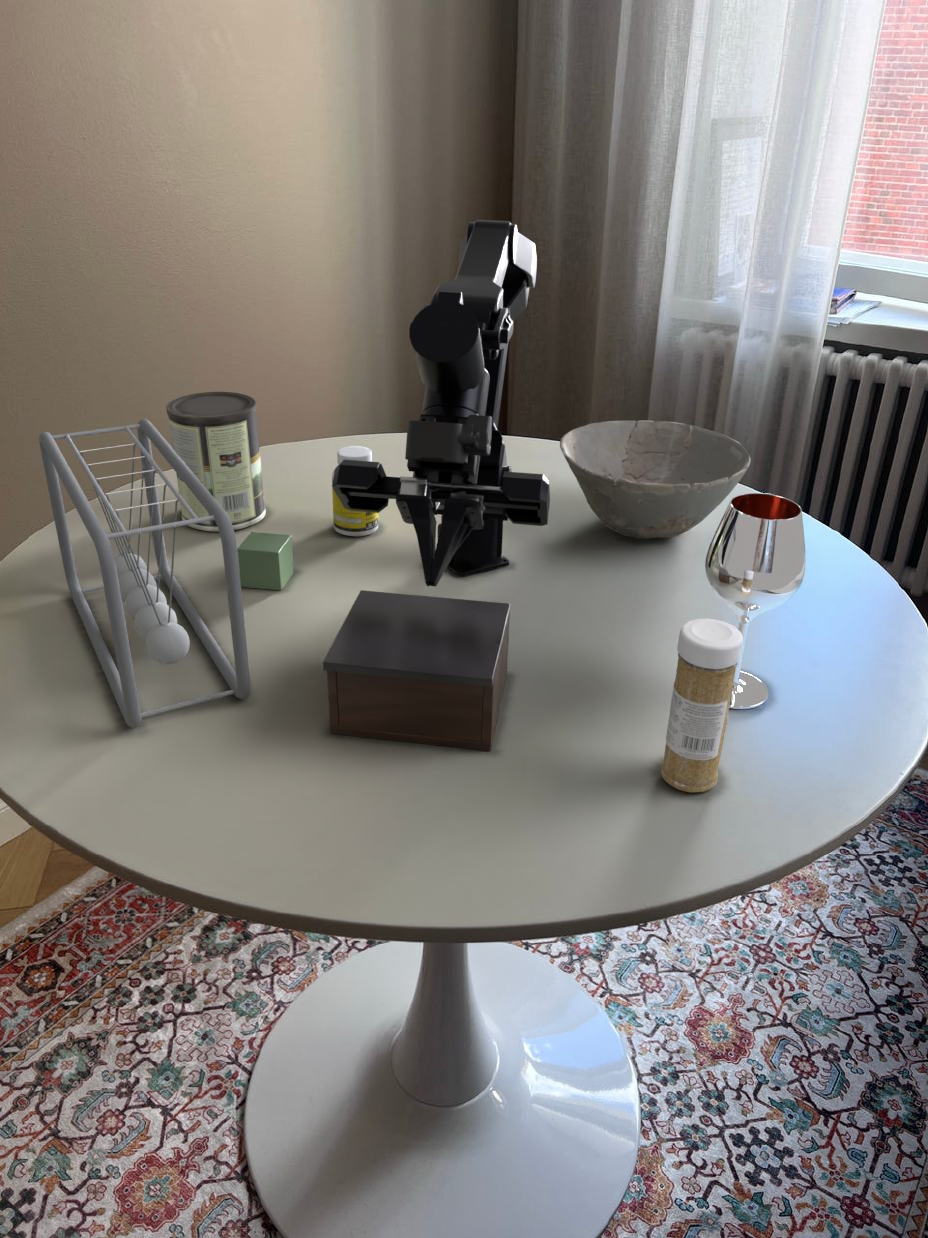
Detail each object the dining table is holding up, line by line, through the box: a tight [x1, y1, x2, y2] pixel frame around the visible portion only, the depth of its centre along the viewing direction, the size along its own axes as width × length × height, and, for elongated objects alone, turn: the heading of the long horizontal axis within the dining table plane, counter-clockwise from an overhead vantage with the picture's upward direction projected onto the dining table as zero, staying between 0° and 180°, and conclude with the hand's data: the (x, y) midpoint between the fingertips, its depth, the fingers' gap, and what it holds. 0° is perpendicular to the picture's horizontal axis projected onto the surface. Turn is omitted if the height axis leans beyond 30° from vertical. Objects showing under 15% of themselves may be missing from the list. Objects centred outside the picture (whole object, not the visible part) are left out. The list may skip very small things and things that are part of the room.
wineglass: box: [704, 492, 806, 710], centre depth 86 cm, size 8×8×18 cm
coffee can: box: [165, 391, 267, 533], centre depth 118 cm, size 10×10×14 cm
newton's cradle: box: [38, 418, 252, 729], centre depth 91 cm, size 30×10×18 cm, turn 29°
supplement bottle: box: [331, 445, 379, 537], centre depth 117 cm, size 5×5×10 cm
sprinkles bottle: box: [660, 618, 743, 793], centre depth 75 cm, size 5×5×13 cm
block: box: [237, 531, 295, 591], centre depth 106 cm, size 4×4×4 cm
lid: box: [322, 589, 511, 687], centre depth 83 cm, size 12×14×1 cm
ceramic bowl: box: [559, 419, 751, 539], centre depth 119 cm, size 22×23×10 cm
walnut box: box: [326, 613, 511, 752], centre depth 85 cm, size 12×14×7 cm
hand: (430, 584), depth 85 cm, fingers closed
